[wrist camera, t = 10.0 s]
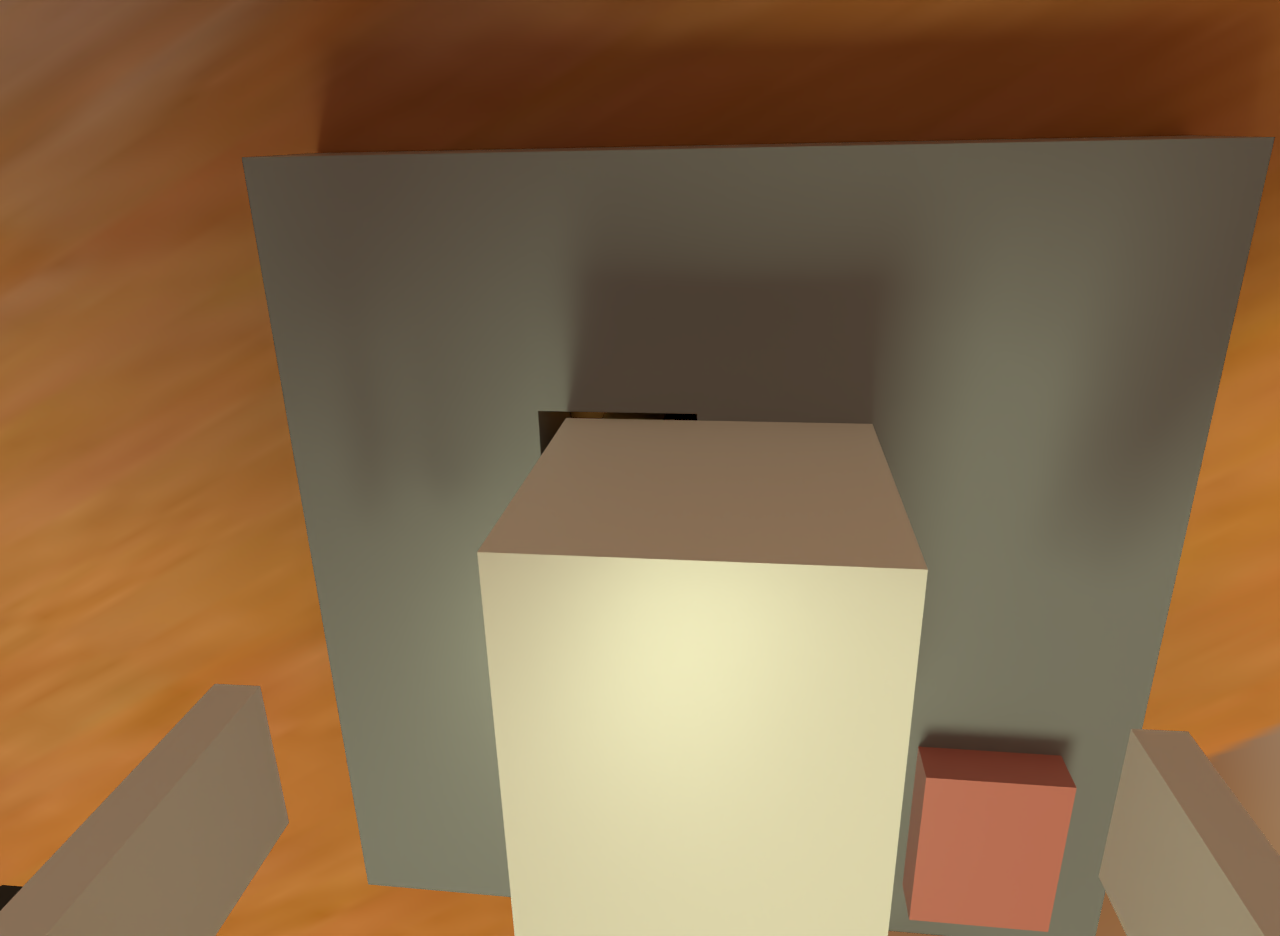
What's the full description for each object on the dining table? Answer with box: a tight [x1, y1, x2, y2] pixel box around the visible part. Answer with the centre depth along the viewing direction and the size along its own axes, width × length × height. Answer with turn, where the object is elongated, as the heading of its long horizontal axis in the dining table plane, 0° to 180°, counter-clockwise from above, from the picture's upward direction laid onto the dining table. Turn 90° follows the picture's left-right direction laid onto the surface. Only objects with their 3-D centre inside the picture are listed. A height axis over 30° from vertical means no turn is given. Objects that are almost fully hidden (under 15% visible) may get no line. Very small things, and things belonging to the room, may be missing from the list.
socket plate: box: [242, 136, 1275, 936], centre depth 20 cm, size 18×18×4 cm
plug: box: [477, 412, 928, 936], centre depth 17 cm, size 6×8×9 cm
